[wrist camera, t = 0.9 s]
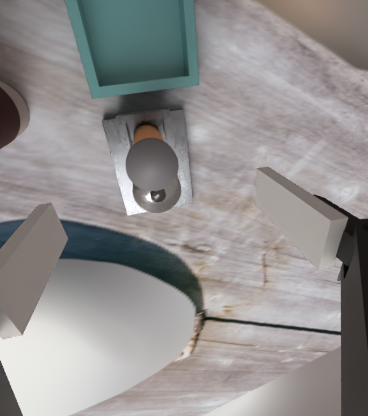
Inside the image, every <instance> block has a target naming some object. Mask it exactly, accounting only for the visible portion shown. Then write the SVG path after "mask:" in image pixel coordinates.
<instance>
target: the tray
mask: <svg viewBox="0 0 368 416" xmlns="http://www.w3.org/2000/svg"><path fill="white" fill-rule="evenodd" d="M65 3H66V7H67V10H68V14H69V18H70V21H71V25H72V28H73V32H74V35H75V39H76V43H77V46H78V50H79V53H80V57H81V60H82V64H83V67H84V71H85V75H86V78H87V82H88V85H89V89H90V92H91V96H92V99H93V98H101V97H109V96H117V95H125V94H133V93H141V92H149V91H157V90H165V89H173V88H181V87H188V86H196V85H199V75H198V59H197V44H196V28H195V12H194V0H65Z"/></svg>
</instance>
